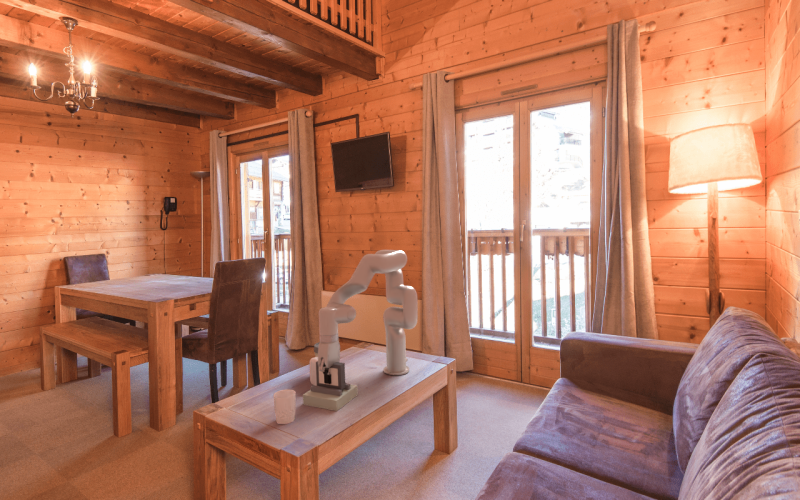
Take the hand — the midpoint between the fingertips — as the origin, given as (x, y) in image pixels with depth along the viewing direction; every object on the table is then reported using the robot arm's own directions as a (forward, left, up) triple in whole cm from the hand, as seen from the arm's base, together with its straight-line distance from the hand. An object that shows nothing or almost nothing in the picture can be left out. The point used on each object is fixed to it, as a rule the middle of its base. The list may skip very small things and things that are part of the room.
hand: (330, 381), depth 164 cm
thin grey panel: (0, 0, -2) cm, 2 cm away
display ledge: (0, 0, -8) cm, 8 cm away
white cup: (+21, -6, -8) cm, 23 cm away
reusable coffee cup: (-23, -17, -8) cm, 30 cm away
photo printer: (-11, -14, -8) cm, 19 cm away
